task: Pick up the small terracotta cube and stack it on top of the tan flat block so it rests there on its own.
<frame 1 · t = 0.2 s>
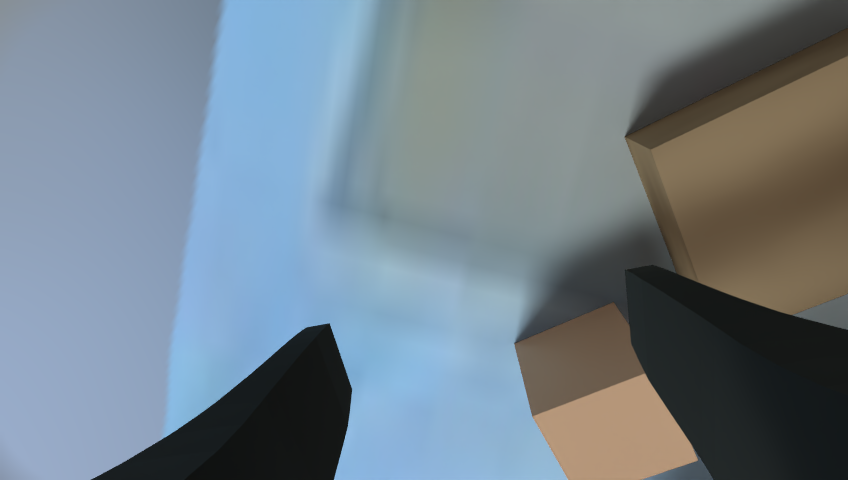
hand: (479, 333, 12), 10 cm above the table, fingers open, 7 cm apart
cube: (581, 361, 24), on the table
tan flat block: (760, 179, 20), on the table
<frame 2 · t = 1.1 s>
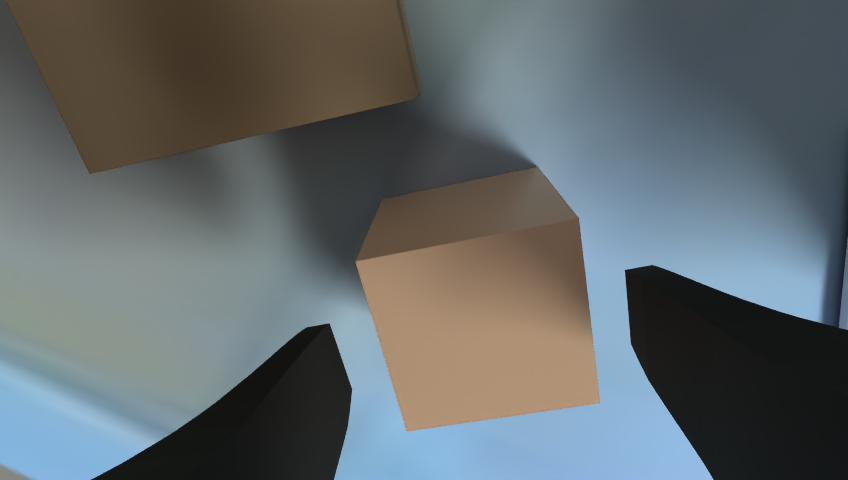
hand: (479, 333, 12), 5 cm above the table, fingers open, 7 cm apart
cube: (472, 253, 16), on the table
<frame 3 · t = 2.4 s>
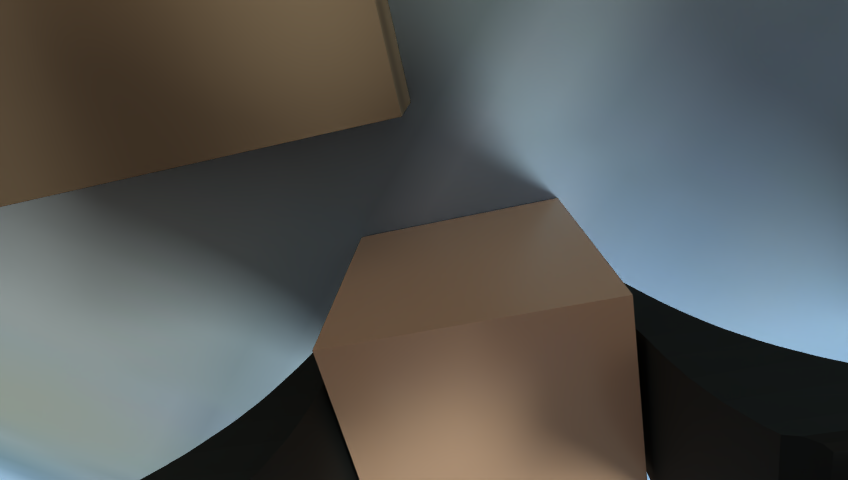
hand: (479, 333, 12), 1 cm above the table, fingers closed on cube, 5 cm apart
cube: (475, 303, 13), on the table, touching gripper
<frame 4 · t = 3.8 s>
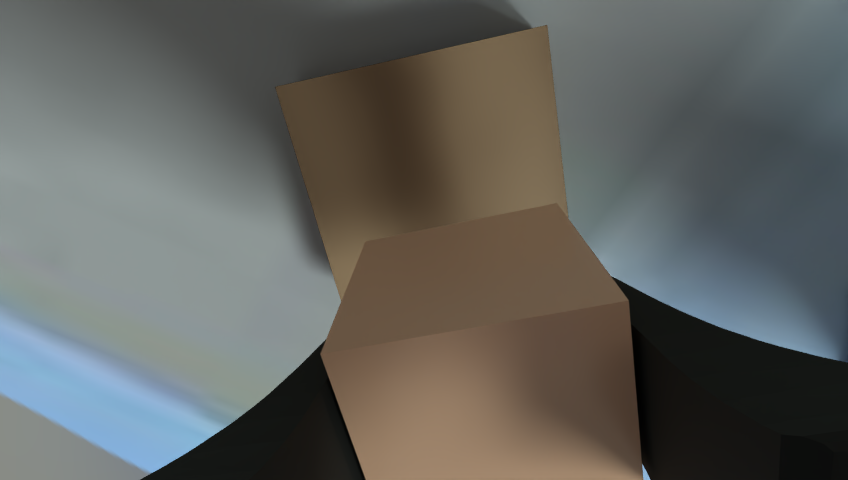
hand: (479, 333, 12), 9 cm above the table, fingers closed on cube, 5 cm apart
cube: (476, 306, 13), point 7 cm above the table, touching gripper
tan flat block: (436, 170, 20), on the table
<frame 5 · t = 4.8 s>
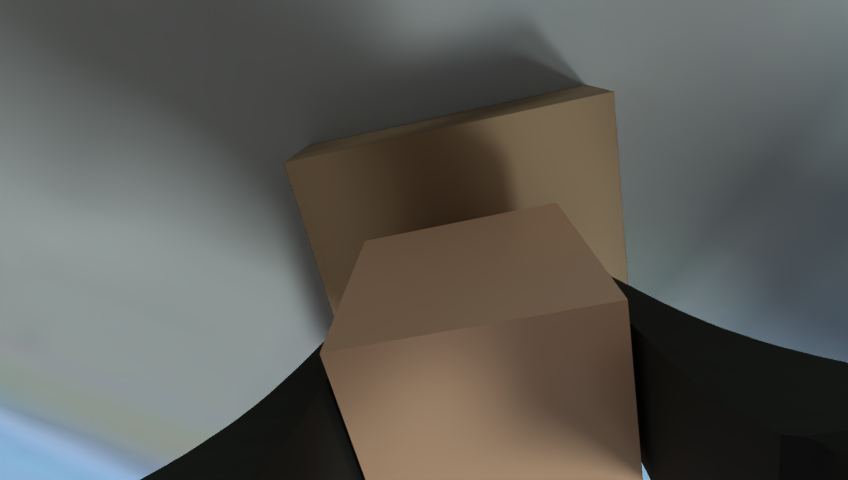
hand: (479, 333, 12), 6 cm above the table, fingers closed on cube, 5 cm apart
cube: (476, 305, 13), point 4 cm above the table, touching gripper
tan flat block: (467, 240, 17), on the table
when the fingers open (6 cm above the table, at t = 5.5 s): cube drops 1 cm, point 3 cm above the table.
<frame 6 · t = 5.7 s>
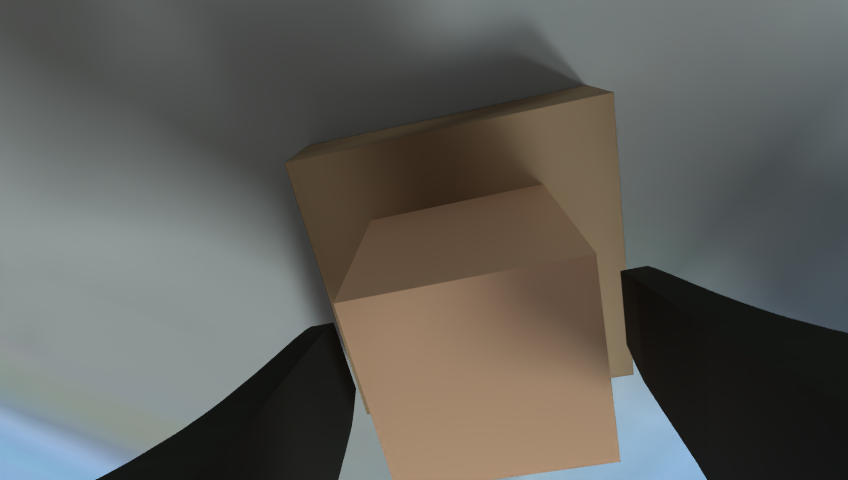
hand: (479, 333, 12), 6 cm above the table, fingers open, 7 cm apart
cube: (472, 280, 14), point 3 cm above the table
tan flat block: (467, 239, 17), on the table
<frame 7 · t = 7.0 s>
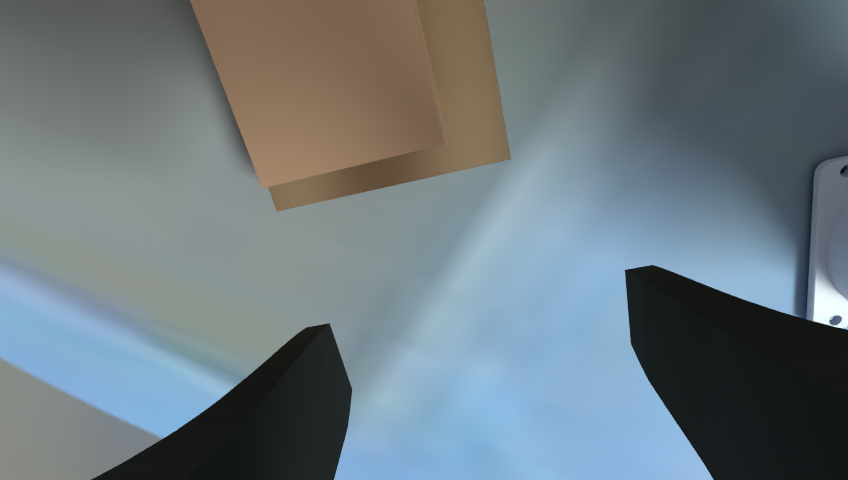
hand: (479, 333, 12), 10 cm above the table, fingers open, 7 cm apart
cube: (354, 62, 16), point 2 cm above the table, touching tan flat block
tan flat block: (368, 58, 19), on the table, touching cube
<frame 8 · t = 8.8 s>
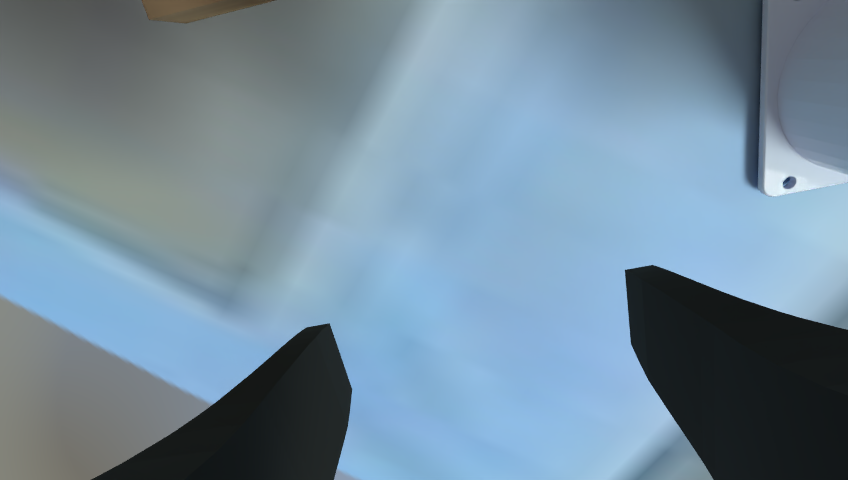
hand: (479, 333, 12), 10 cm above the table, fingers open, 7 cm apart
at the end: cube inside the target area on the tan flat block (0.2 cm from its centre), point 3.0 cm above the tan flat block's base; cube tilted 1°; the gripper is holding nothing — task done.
